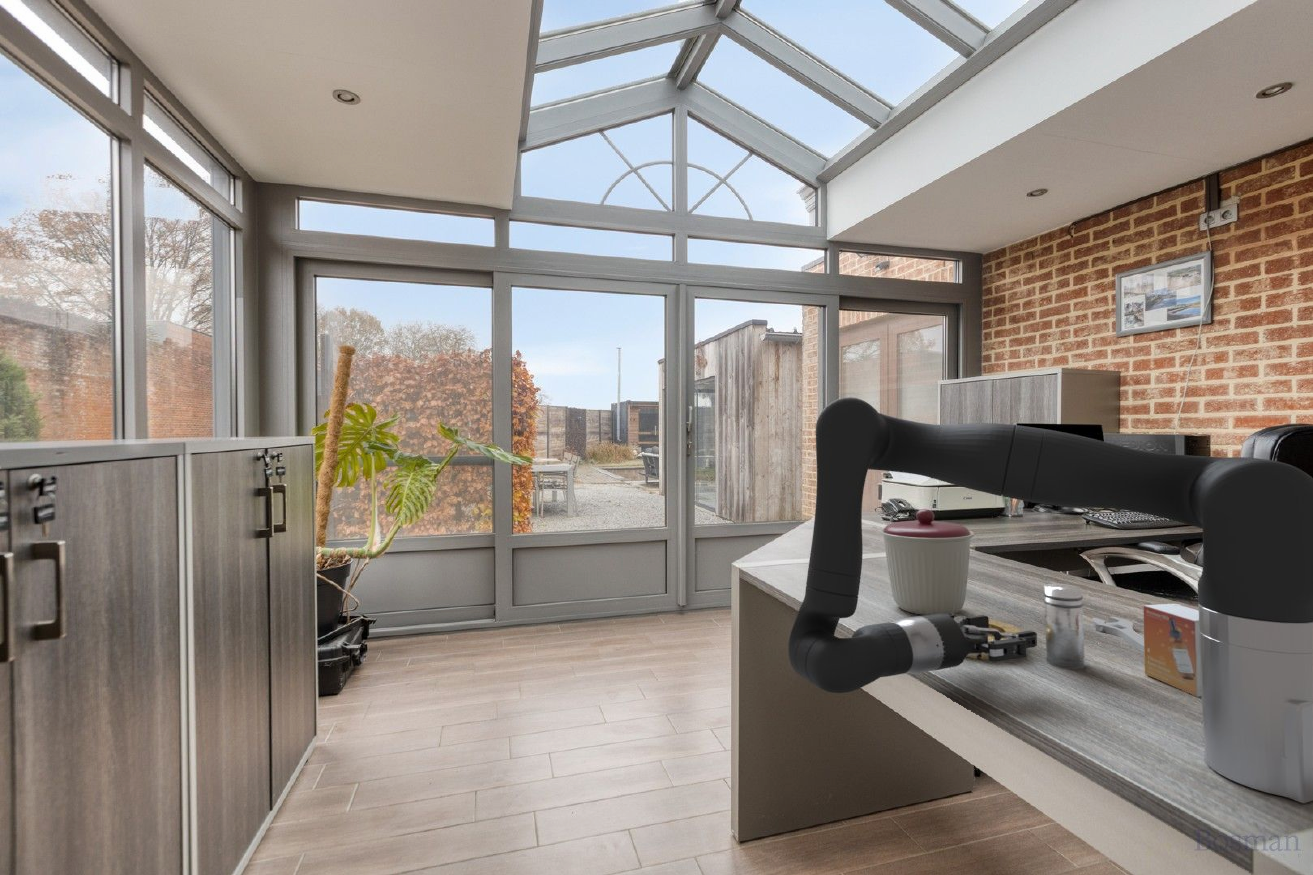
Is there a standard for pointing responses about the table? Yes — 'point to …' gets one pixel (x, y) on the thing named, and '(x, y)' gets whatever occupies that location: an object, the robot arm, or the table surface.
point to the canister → (928, 564)
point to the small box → (1173, 646)
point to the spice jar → (1064, 626)
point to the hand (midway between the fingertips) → (1009, 629)
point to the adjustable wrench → (1120, 630)
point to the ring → (993, 625)
